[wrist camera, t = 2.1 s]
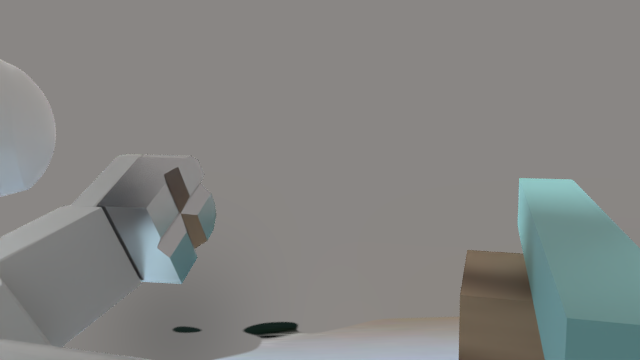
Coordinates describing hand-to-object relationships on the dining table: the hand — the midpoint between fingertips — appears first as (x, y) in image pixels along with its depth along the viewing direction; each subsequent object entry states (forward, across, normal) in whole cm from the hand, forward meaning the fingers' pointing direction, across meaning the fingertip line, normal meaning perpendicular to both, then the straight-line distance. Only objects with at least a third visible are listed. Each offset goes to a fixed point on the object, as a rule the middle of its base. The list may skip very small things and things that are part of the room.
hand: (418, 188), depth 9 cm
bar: (+13, -5, +16) cm, 21 cm away
